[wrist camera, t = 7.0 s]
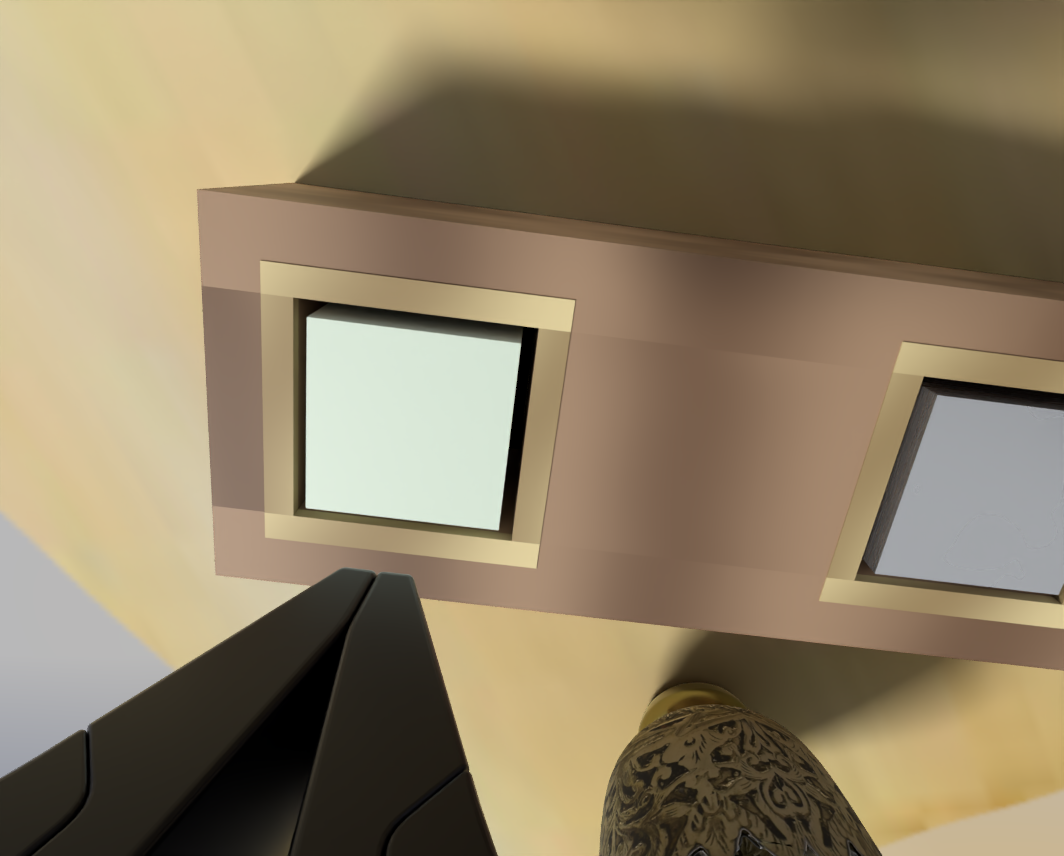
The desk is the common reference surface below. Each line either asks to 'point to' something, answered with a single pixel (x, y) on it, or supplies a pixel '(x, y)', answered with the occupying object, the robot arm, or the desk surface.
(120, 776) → the robot arm
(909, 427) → the steel peg
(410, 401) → the sage peg
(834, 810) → the cup
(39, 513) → the desk surface
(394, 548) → the walnut bar
